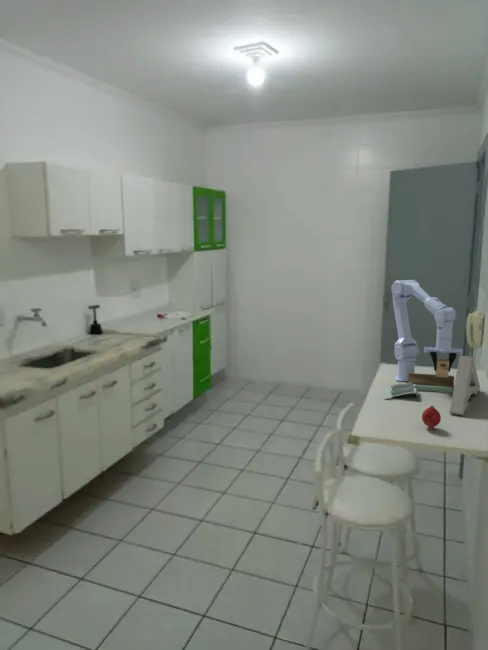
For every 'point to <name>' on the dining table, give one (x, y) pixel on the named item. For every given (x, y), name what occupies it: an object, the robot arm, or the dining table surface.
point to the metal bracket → (400, 390)
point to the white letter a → (464, 385)
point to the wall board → (431, 380)
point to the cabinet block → (442, 367)
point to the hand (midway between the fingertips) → (441, 370)
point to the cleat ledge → (434, 388)
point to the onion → (431, 417)
